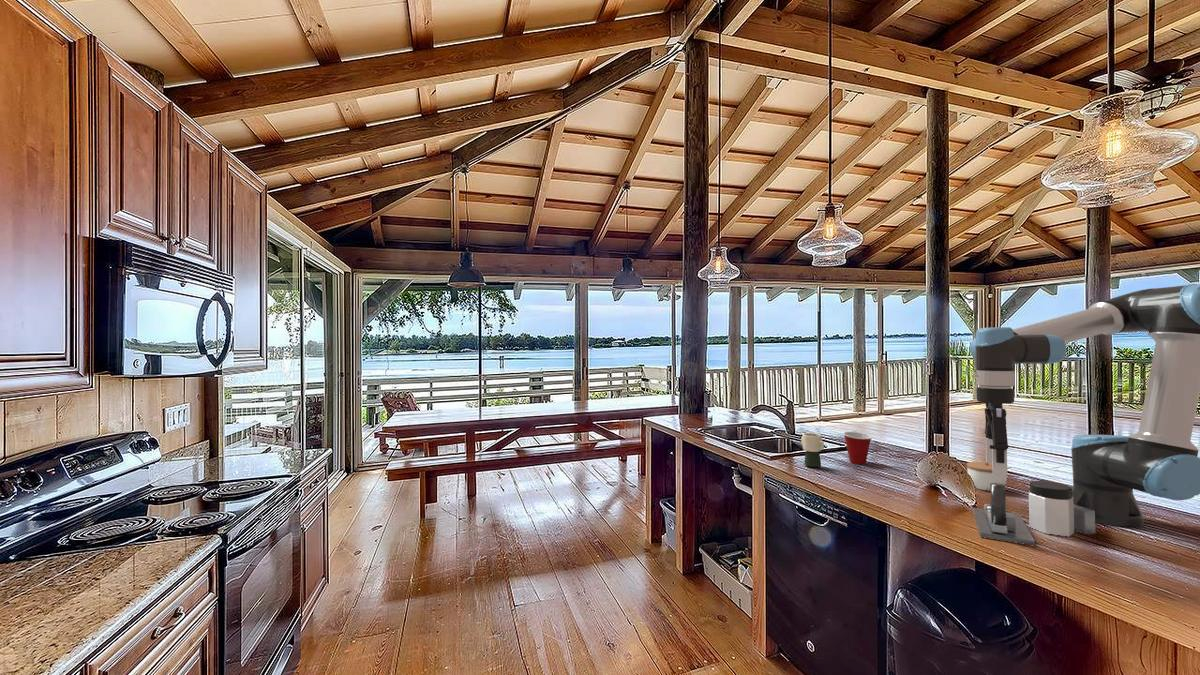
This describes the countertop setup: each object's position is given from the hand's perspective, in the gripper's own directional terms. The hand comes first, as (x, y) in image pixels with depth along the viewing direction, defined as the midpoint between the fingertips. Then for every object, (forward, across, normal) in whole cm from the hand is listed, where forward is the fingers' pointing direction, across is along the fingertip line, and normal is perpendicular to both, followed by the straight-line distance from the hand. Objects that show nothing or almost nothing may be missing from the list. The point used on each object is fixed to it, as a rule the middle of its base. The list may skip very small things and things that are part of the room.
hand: (996, 469), depth 122 cm
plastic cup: (+18, -64, -38) cm, 76 cm away
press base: (+17, -8, +2) cm, 19 cm away
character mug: (+18, -49, -53) cm, 74 cm away
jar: (+17, -13, +12) cm, 25 cm away
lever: (+16, -8, +1) cm, 18 cm away
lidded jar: (+17, -48, +2) cm, 51 cm away
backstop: (+17, -17, +17) cm, 30 cm away
